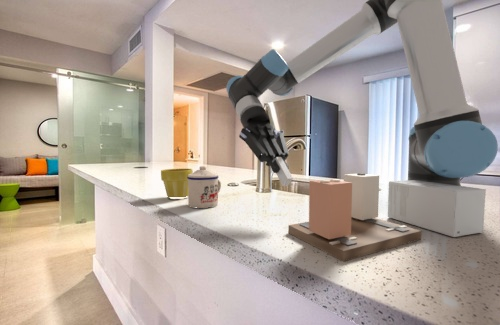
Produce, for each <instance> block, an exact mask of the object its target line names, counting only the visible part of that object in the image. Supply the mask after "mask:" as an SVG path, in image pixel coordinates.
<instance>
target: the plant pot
mask: <svg viewBox="0 0 500 325" xmlns="http://www.w3.org/2000/svg"><path fill="white" fill-rule="evenodd" d="M192 173H194V172H193V169H192V168H187V167H186V168H184V167H183V168H167V169H161V170H160V177H161V181H162V182H163V184H164V189H165V192H166V196H168V197H186V196H188V178H187V177H188V175H189V174H192ZM168 197H167V198H168Z"/></svg>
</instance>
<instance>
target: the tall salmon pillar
mask: <svg viewBox="0 0 500 325" xmlns="http://www.w3.org/2000/svg"><path fill="white" fill-rule="evenodd" d="M308 185H309V192H308V195H309V196H308V202H309V203H308V222H309V231H311V232H313V233H316V234H318V235H320V236H322V237H325V238H327V239H334V238H338V237H343V236H347V235H351V213H352V183H351V182H345V181H344V180H341V179H337V178H331V179H330V178H329V179H320V180H319V179H317V180H316V179H315V180H309V184H308Z"/></svg>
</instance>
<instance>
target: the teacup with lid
mask: <svg viewBox="0 0 500 325" xmlns="http://www.w3.org/2000/svg"><path fill="white" fill-rule="evenodd" d="M187 178H188V198H187V199H188V200H187V201H188V207H190V206H191V207H190V208H192V207H197V208H196V209H199V208H203V209H209V208H208V207H212V208H214V207H213V206H215V207H217V206H218V205H219V193H220V191H221V188H222V182H221V181H220V179H219V175H218V173H215V172H213V171H211V170H210V169H207V166H206V165H201V166H199V169H197V170H195V171H194V172H193V173H192V174H189V175H188V177H187ZM216 205H217V206H216Z"/></svg>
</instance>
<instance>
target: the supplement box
mask: <svg viewBox="0 0 500 325" xmlns="http://www.w3.org/2000/svg"><path fill="white" fill-rule="evenodd" d="M486 191H487V189H486V188H485V189H484V188H479V187H473V186H472V187H471V186H464V185H461V186H457V185H449V184H441V183H434V182H426V181H418V180H408V179H407V180H394V181H393V180H391V181H388V194H387V196H388V201H387V218H389V219H392V220H395V221H396V220H397V221H399V222H403V223H406V224H410V225H413V226H416V227H419V228H422V229H426V230H429V231H432V232H435V233H439V234H442V235H446V236H449V237H452V238H456V237H457V238H458V237H462V236H467V235H474V234H480V233H484V228H485V227H484V225H485V222H484V221H485V206H486V204H485V203H486V193H487V192H486Z"/></svg>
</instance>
